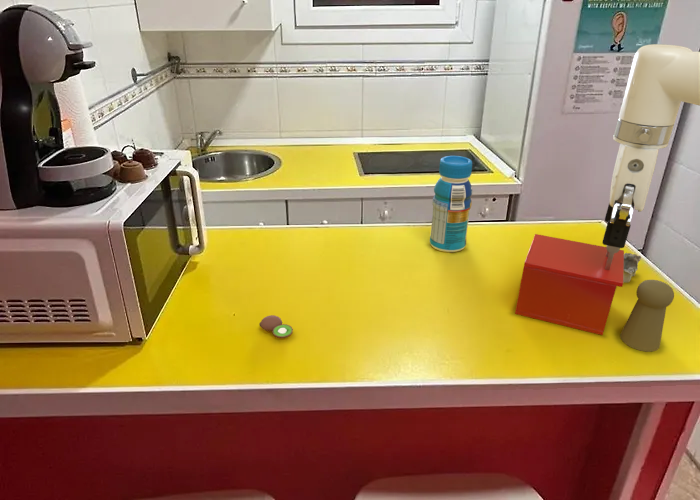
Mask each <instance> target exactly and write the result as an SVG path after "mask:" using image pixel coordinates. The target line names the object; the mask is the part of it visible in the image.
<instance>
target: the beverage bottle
mask: <svg viewBox="0 0 700 500" xmlns="http://www.w3.org/2000/svg"><path fill="white" fill-rule="evenodd" d="M472 171H473V160H471V159H470V158H468V157H466V156H460V155H447V156H443V157H441V158H440V161H439V168H438V173H439V174H438V175H439V176H440V177H439V178H438V180H437V181H436V183H435V184H434V188H433V192H434V195H433V198H432V201H431V205H432V216H431V228H430V236H429V244H430V246H431V247H432V248H433V249H435V250H437V251H440V252H444V253H457V252H460V251H463V250H464V249H465V248H466V246H467V235H468V226H469V218H470V211H471V209H472V205H473V201H472V197H471V196H472V195H473V192H474V191H473V186H472V184H471V181H470V180H469V179H470V177H471V176H472Z"/></svg>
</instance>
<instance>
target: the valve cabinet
mask: <svg viewBox="0 0 700 500" xmlns="http://www.w3.org/2000/svg"><path fill="white" fill-rule="evenodd" d="M617 287H618V286H614V285H610V284H605V283H600V282H595V281H591V280H586V279H581V278H577V277H572V276H567V275H562V274H558V273H553V272H548V271H543V270H539V269H534V268H529V267H524V266H523V269H522V275H521V279H520V284H519V290H518V296H517V301H516V307H515V312H514V315H519V316H523V317H527V318H531V319H535V320H539V321H543V322H547V323H551V324H555V325H559V326H563V327H567V328H571V329H575V330H579V331H584V332H588V333H592V334H594V335H595V334H596V335H600V336H603V335H604V331H605V328H606V325H607V323H608V322H607V321H608V318H609V314H610V312H611V307H612V303H613V300H614V297H615V293H616V290H617Z"/></svg>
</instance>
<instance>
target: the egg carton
mask: <svg viewBox="0 0 700 500" xmlns="http://www.w3.org/2000/svg"><path fill="white" fill-rule="evenodd" d="M641 260H642V256H641V255H637V254H635V253H629V252H624V272H623V283H626V284H627V283H630V282H631V279H632V277H635V276H636V273H637V271H638V266H639V265H638V263H639V262H640V261H641Z"/></svg>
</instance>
